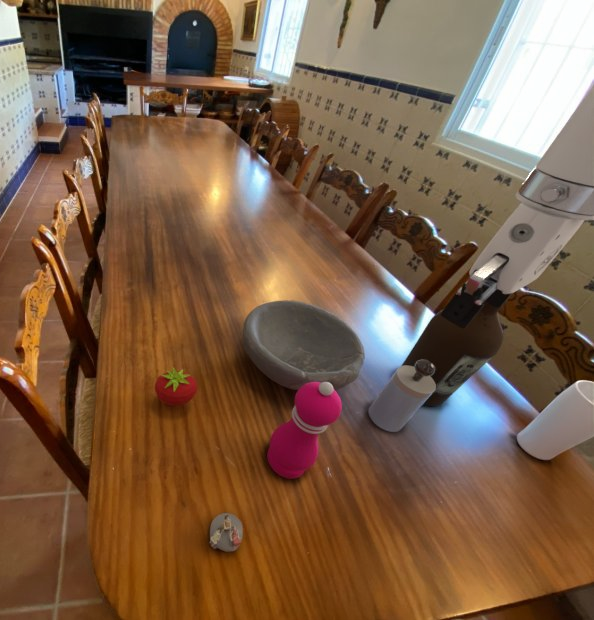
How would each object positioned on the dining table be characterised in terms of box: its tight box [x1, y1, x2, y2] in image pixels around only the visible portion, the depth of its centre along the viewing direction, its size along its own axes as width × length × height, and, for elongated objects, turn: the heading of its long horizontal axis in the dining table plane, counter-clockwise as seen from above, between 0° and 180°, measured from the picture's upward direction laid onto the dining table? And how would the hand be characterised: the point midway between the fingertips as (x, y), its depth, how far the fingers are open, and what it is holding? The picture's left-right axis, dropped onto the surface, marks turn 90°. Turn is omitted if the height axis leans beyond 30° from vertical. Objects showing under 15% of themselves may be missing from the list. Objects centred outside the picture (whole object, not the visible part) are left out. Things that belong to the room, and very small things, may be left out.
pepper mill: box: [266, 382, 343, 480], centre depth 53 cm, size 7×7×20 cm
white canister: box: [367, 359, 436, 433], centre depth 62 cm, size 6×6×16 cm
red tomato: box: [154, 366, 198, 407], centre depth 63 cm, size 6×8×10 cm
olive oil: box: [401, 294, 512, 407], centre depth 65 cm, size 11×11×25 cm
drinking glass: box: [516, 379, 594, 461], centre depth 60 cm, size 7×7×15 cm
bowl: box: [242, 299, 366, 391], centre depth 72 cm, size 23×22×10 cm
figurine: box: [209, 512, 243, 553], centre depth 48 cm, size 5×4×6 cm
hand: (470, 311), depth 50 cm, fingers open, 9 cm apart
